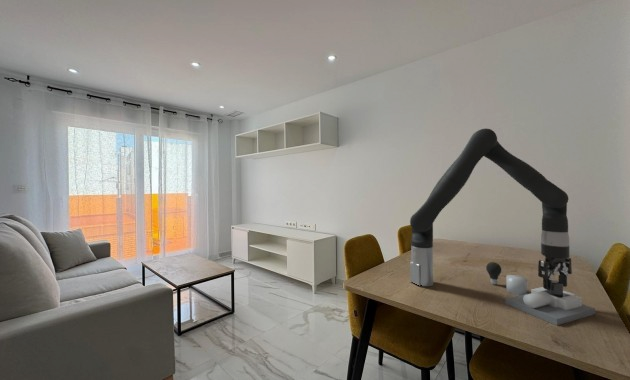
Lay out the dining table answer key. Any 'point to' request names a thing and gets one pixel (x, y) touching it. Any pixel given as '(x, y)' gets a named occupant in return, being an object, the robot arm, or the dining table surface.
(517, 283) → the cylinder
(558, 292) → the dark grey domed cylinder
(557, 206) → the robot arm
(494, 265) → the light bulb
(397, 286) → the dining table surface
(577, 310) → the socket block
